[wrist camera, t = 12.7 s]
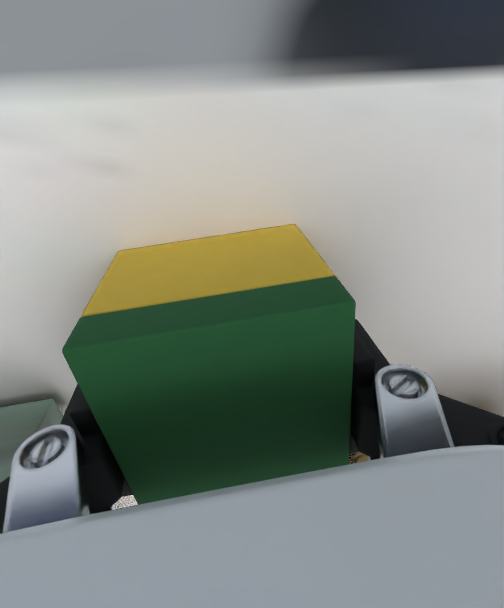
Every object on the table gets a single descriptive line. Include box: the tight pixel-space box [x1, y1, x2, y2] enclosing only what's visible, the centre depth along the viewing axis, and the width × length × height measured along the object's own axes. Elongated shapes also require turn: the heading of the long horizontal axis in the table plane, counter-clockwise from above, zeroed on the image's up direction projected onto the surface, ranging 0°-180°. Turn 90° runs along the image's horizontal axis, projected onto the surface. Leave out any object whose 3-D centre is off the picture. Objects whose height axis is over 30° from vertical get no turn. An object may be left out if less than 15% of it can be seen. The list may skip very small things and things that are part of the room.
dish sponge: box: [62, 224, 355, 505], centre depth 10 cm, size 6×7×5 cm
